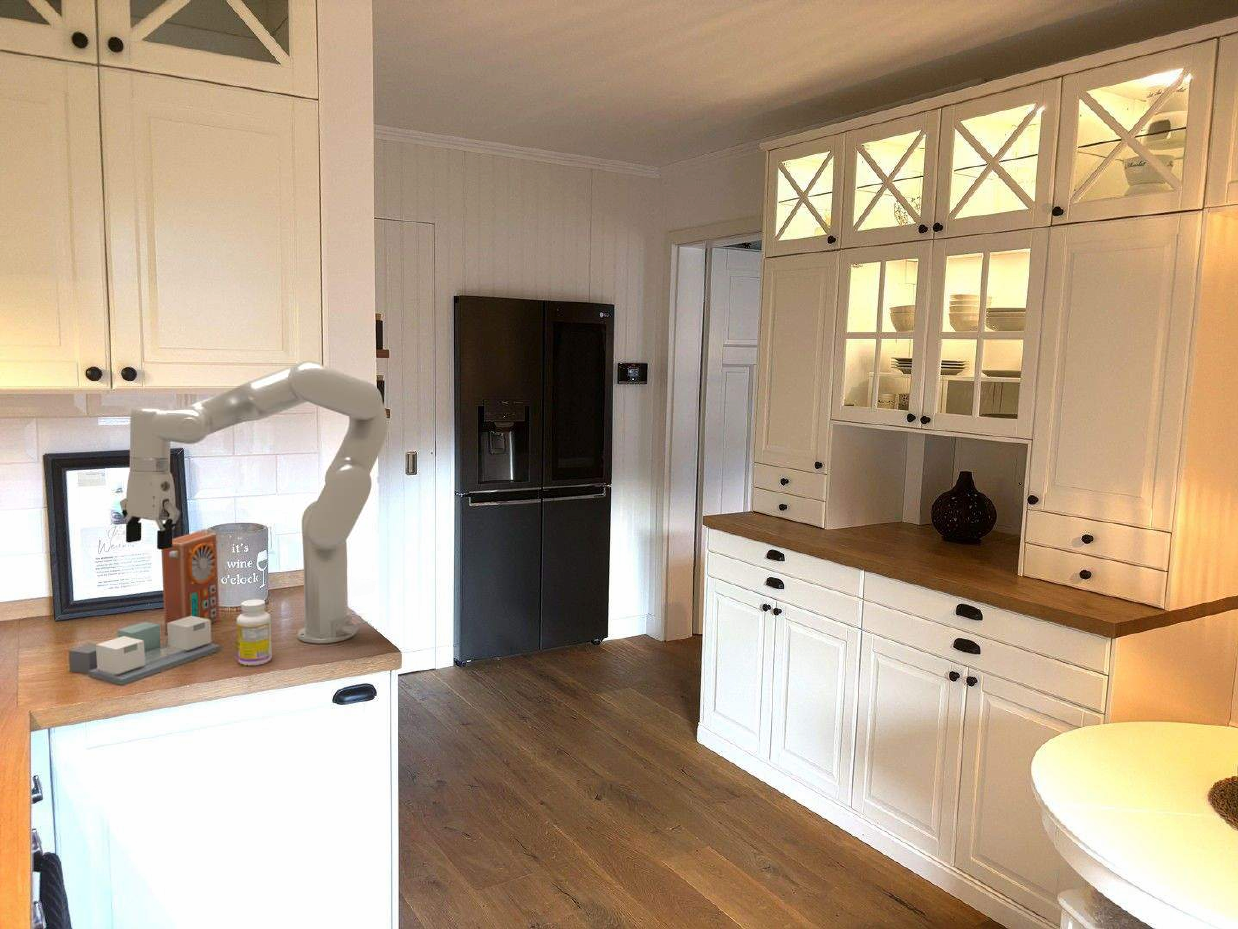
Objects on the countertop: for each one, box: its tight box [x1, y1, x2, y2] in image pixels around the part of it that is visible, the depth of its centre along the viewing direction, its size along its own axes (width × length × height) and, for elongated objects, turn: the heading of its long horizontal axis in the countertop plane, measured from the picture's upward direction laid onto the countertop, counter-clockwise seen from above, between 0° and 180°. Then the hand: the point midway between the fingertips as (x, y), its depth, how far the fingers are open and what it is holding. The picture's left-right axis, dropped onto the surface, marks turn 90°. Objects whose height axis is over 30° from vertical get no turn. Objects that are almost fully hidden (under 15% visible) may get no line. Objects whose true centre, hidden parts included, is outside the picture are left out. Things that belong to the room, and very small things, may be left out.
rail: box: [100, 643, 209, 676], centre depth 186 cm, size 4×22×1 cm, turn 155°
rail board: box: [88, 642, 221, 686], centre depth 186 cm, size 10×23×1 cm, turn 155°
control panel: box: [160, 531, 221, 634], centre depth 209 cm, size 21×7×15 cm
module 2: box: [117, 621, 162, 652], centre depth 191 cm, size 4×6×6 cm
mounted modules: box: [95, 616, 212, 674], centre depth 186 cm, size 6×22×5 cm, turn 155°
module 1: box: [68, 642, 97, 675], centre depth 182 cm, size 5×5×4 cm
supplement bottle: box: [236, 598, 273, 666], centre depth 188 cm, size 7×7×13 cm
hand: (148, 544), depth 190 cm, fingers open, 9 cm apart
